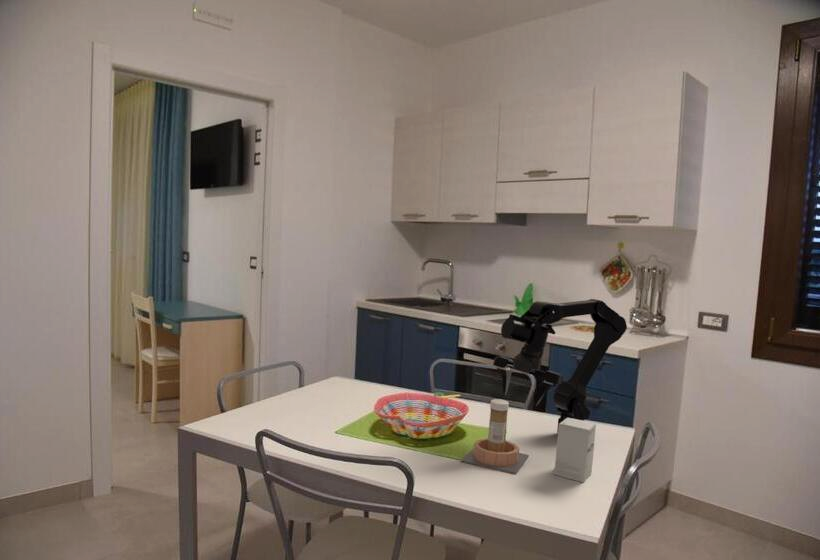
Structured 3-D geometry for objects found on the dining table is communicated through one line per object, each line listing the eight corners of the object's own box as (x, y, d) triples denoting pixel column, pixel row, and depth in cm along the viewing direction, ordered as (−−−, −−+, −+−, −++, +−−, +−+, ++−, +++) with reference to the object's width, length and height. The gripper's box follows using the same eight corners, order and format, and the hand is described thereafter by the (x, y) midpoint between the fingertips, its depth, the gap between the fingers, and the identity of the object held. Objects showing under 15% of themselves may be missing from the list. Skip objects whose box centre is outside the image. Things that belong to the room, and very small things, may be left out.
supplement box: (584, 483, 134) (589, 430, 133) (553, 474, 138) (557, 423, 137) (592, 473, 140) (597, 422, 140) (562, 466, 144) (566, 416, 144)
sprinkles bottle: (506, 452, 147) (510, 400, 146) (501, 457, 143) (506, 404, 142) (488, 448, 149) (493, 397, 148) (484, 453, 145) (488, 401, 144)
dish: (529, 456, 149) (530, 443, 149) (516, 474, 137) (517, 460, 136) (477, 445, 155) (478, 433, 155) (460, 461, 142) (461, 448, 142)
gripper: (494, 335, 158) (479, 390, 158) (560, 354, 149) (545, 412, 149) (506, 337, 168) (492, 389, 168) (569, 355, 159) (555, 410, 159)
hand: (519, 400), depth 160 cm, fingers open, 9 cm apart
